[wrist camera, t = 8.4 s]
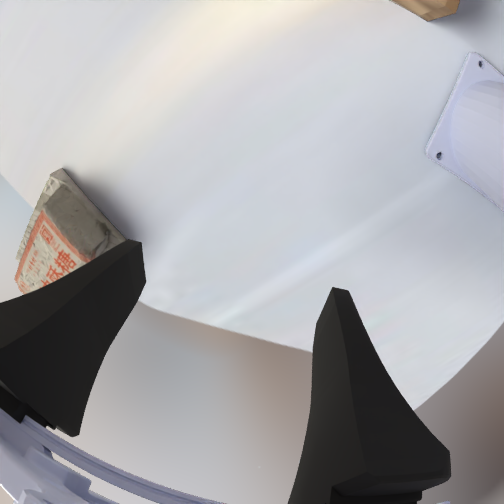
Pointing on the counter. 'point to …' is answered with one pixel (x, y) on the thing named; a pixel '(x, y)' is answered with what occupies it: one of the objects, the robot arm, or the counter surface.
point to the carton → (429, 7)
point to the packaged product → (62, 234)
